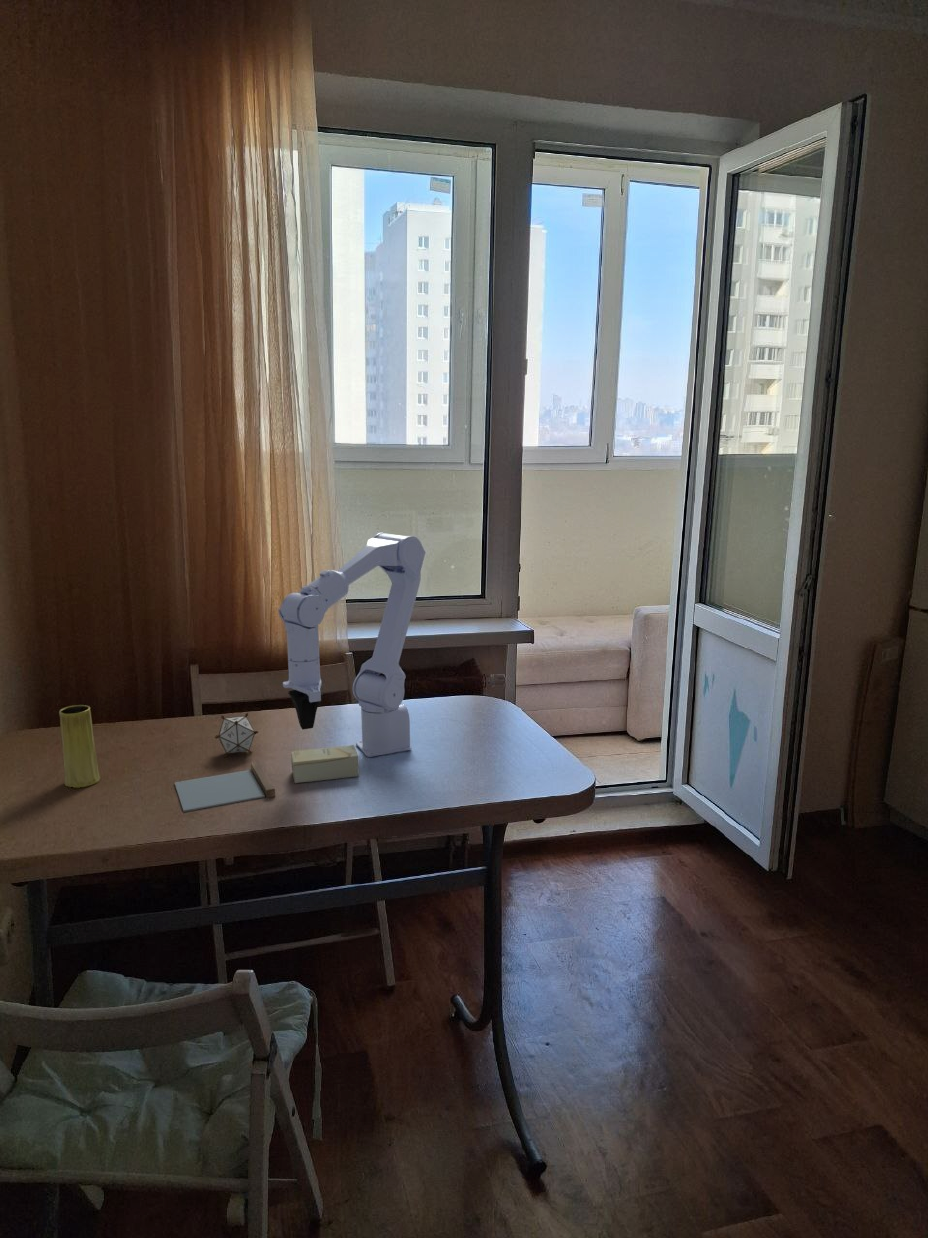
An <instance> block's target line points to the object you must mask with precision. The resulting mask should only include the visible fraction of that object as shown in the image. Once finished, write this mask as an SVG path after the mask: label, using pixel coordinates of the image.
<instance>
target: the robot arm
mask: <svg viewBox="0 0 928 1238" xmlns="http://www.w3.org/2000/svg"><path fill="white" fill-rule="evenodd" d="M425 555H426V551H425V549H424V547H423V545H422V542H421V540H420V539H419V538H418V537H416V536H414V535H401V534H392V533H388V532H378V533H376V534H375V535H374V536H373V537H371V538H369V539H368V540H366V545H365V546H364V547H363V548H362V549H361V550H360V551H359V552H358V553H356V554H355V555H354V556H353V557H351V558H350V559H349V560H348V561H346V563H345V564H344V565H343V566H341V567H340V568H339V569H338V570H334V569H328V570H325V569H323V570H322V571H321V572H319V577H317V578H315V580H313V581H312V582H311V583H309V584H308V585H303V586H302V587H301V590H300V591H299V592H291V593H289V594H287V595H286V596H285V598H283V600H282V602H281V605H280V608H279V609H278V615H279V619H281V620H282V621H283V623H284V630H285V631H286V643H287V644H286V645H287V647H286V648H287V666H288V668H287V669H288V680H287V681H283V682H282V687H284V689H291V690H289V691H287V693H288V695H289V697H290V699H291V700H292V702H293V705H294V709H295V712H296V716H297V720H298V723H299V727H300V728H301V729H302V730H308V729H309V730H311V729H314V726H315V721H316V715H317V711H318V707H319V705H320V702H321V701H322V699H323V696H324V695H323V692H322V691H321V687H322V682H323V681H322V679H321V665H320V663H321V662H320V643H319V642H320V641H319V638H320V637H319V625H320V624H321V623H322V622H323V620H324V618H325V614H326V613H327V612H328V610H329V609H330V608H331V607H333V606H334V605H335V604H337V603H338V602H339V601H340V600H342V599H343V598H344V597H346V596H347V595H348V593H349V586H350V585H352V584H353V583H354V582H356V581H357V580H359V579H360V578H362V577H363V576H365V575H366V574H368V573H369V572H371V571H372V570H374V569H375V568H376V567H379V568H380V569H381V570H382V571H383V572H384V573H385V574H386V575H387V576H388V578H389V580H390V582H391V586H390V590H389V593H388V597H387V601H386V604H385V608H384V612H383V615H382V618H381V619H382V620H381V623H380V626H379V627H380V628H379V632H378V634H377V638H376V642H375V645H374V649H373V654H372V657H371V658H369V659H367V660H366V661H365V662H364V663H362V664H361V666H360V669H359V672H358V674H356V675H357V676H356V677H355V678H354V680H353V684H352V694H353V697H354V698H355V699H356V700H357V701H358V705H359V706H360V708H361V711H360V712H361V713H360V714H361V718H360V719H361V741H356V742H355V745H356V746H357V747H358V748H359V750H360V751H362V753H364V755H365V756H366V757H368V758H371V757H377V756H381V755H382V756H383V755H388V754H395V753H402V752H405V751H411V750H412V746H411V729H410V727H411V726H410V725H411V723H410V722H411V721H410V713H409V710H408V708H407V706H406V705H405V704H404V703H403V700H404V698H405V679H406V677H407V676H406V674H405V672H404V671H403V670H402V667H401V666H400V659H401V655H402V652H403V648H404V644H405V640H406V637H407V633H408V629H409V626H410V621H411V618H412V614H413V611H414V607H415V602H416V599H417V596H418V592H419V588H420V586H421V585H420V584H421V576H422V575H421V571H422V567H423V563H424V559H425ZM380 674H383V675H384V676H383V675H380Z"/></svg>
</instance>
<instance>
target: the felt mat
mask: <svg viewBox="0 0 928 1238" xmlns="http://www.w3.org/2000/svg"><path fill="white" fill-rule="evenodd" d="M174 787H175V789H176V793H177V796H178V798H179V802H180V805H181V808H182V811H183V812H184V813H185V812H192V811H195V810H196V811H197V810H201V809H207V808H213V807H219V806H223V805H229V804H234V803H235V804H236V803H240V802H247V801H250V800H251V801H252V800H257V799H258V800H259V799H261V798H266V795H265V794H264V792H263V790H262V788H261V787H260V785H259V783H258V781H257V779H256V778H255V776H254V774H253V772H252V770H251V769H247V770H240V771H235V772H229V773H223V774H222V773H221V774H217V775H212V776H206V777H199V778H194V779H193V778H192V779H187V780H182V781H175V782H174Z"/></svg>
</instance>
